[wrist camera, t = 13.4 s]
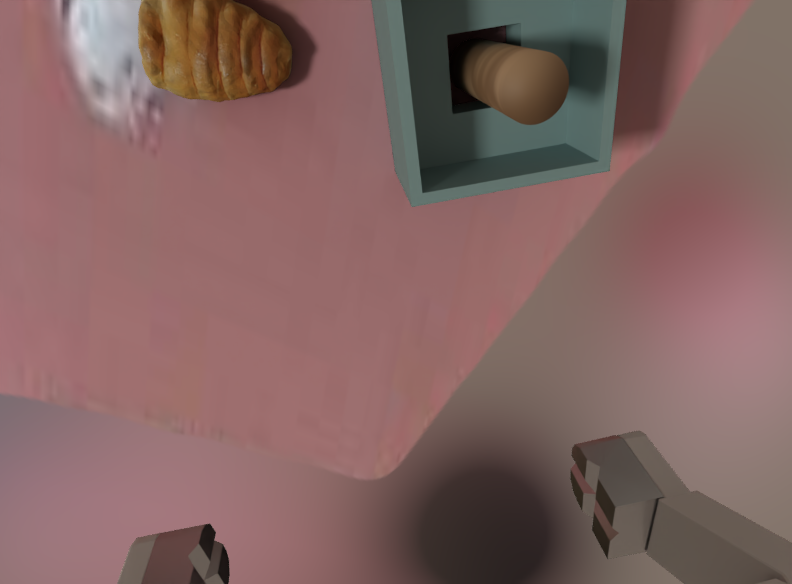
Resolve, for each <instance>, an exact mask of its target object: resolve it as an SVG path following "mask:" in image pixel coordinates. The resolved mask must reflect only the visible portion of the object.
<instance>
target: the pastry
mask: <svg viewBox="0 0 792 584" xmlns="http://www.w3.org/2000/svg"><path fill="white" fill-rule="evenodd" d="M138 15H139V25H138V33H139V38H138V44H139V49H140V52H141V55H142V64H143V67H144V70H145V73H146V75H147V76H148V77H149V79H150V81H151V83H152V84H153V85H154V86H156V87H157V88H162V89H166V90H169V91H171V92H172V93H174V94H176V95H178V96H181V97H183V98H188V99H203V100H212V101H217V102H221V101H224V100H235V99H238V98H243V97H249V96H252V95H256V94H259V93H265V92H272V91H274V90H275V89H276V88H277V87H278V86H280V84H281V83H282V82H283V81H284V80H286V79H287V78H288V77H289V75H290V72H291V67H292V47H291V45H290V43H289V41H288V40H287V38H286V37H285V35H284V33H283V32H282V30H281V28H280V27H279V26H278V25H277V24H275V23H273V22H271V21H269V20H267V19H265V18H263V17H262V16H260V15H259V14H258V13H256V12H255V11H254V10H253V9H251V8H249V7H247V6H245V5H243V4H240V3H237V2H235V1H233V0H141V6H140V9H139V14H138Z"/></svg>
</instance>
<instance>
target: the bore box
mask: <svg viewBox="0 0 792 584" xmlns="http://www.w3.org/2000/svg"><path fill="white" fill-rule="evenodd" d="M371 1H372V8H373V15H374V22H375V29H376V36H377V44H378V51H379V58H380V65H381V72H382V79H383V86H384V94H385V101H386V108H387V115H388V122H389V129H390V137H391V144H392V151H393V158H394V165H395V172H396V174H397V176H398V178H399V180H400V183H401V185H402V187H403V189H404V191H405V193H406V195H407V198H408V200H409V202H410V204H411V206H412V207H415V206H420V205H426V204H431V203H437V202H442V201H448V200H453V199H458V198H464V197H469V196H475V195H480V194H486V193H491V192H497V191H502V190H508V189H513V188H519V187H524V186H530V185H535V184H541V183H546V182H552V181H557V180H563V179H568V178H574V177H579V176H585V175H590V174H596V173H601V172H607V171H610V161H611V151H612V141H613V131H614V121H615V111H616V101H617V91H618V81H619V70H620V60H621V50H622V40H623V30H624V20H625V10H626V0H371ZM504 25H506V44H510V45H515V46H521V47H526V48H531V49H537V50H542V51H547V52H551V53H553V54H555V55H557V56H558V57H559V58H560V59H561V60H562V61H563V63H564V64H565V66H566V68H567V71H568V75H569V89H568V93H567V96H566V99H565V101H564V103H563V105H562V106H561V108H560V109H559V110H558V111H557V113H556V114H555V115H553V116H552V117H551V118H550V119H548V120H546V121H545V122H542V123H540V124H536V125H525V124H521V123H518V122H517V121H515V120H513V119H511V118H510V117H508V116H506V115H504V114H503V113H501V112H499V111H497V110H496V109H494V108H492V107H490V106H489V105H487V104H485V103H483V102H482V101H474V102H468V103H463V104H457V105H452V99H451V85H450V71H449V57H448V43H447V35H450V34H456V33H462V32H468V31H474V30H480V29H486V28H492V27H498V26H504Z"/></svg>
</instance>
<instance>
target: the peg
mask: <svg viewBox="0 0 792 584" xmlns="http://www.w3.org/2000/svg"><path fill="white" fill-rule="evenodd" d="M449 71H450V77H451V79H452V81H453V83H454V84H455V85H456V86H457V87H458V88H459V89H461V90H462V91H464V92H466V93H468V94H469V95H471V96H473V97H475V98H476V99H478V100H480V101H482V102H483V103H485V104H487V105H489V106H490V107H492V108H494V109H496V110H497V111H499V112H501V113H503V114H504V115H506V116H508V117H510V118H511V119H513V120H515V121H517V122H518V123H521V124H525V125H536V124H540V123H542V122H545V121H546V120H548V119H550V118H551V117H552V116H553V115H555V114H556V113H557V111H558V110H559V109H560V108H561V106H562V105H563V103H564V101H565V99H566V96H567V93H568V89H569V75H568V71H567V68H566V66H565V64H564V63H563V61H562V60H561V59H560V58H559V57H558V56H557V55H555V54H553V53H551V52H547V51H542V50H537V49H531V48H526V47H521V46H515V45H510V44H505V43H500V42H494V41H489V40H484V39H478V38H472V39H468V40H465V41H464V42H462V43H461V44H459V45H458V46H457V48H456V49H455V50H454V52H453V54H452V56H451V58H450V62H449Z"/></svg>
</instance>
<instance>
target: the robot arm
mask: <svg viewBox="0 0 792 584" xmlns="http://www.w3.org/2000/svg"><path fill="white" fill-rule="evenodd" d="M572 458H573V459H574V461H575V464H574V465H573V467H572V468H571V470H570V480H571V484H572V489H573V492H574V495H575V497H576V500H577V502H578V504H579V506H580V508H581V510H582V512H584V513H586V514H587V515H589V516H590V517H592V518H593V525H592V531H593V533H594V535H595V536H596V539H597V540H598V542H599V544H600V546H601V548H602V550H603V551H604V554H605V555H606V557H607V559H611V558H617V557H621V556H627V555H632V554H637V553H642V552H647V555H648V556H650V557H651V558H652V559H653V560H655V561H656V562H657V563H659V564H660V565H661V566H662V567H664V568H665V569H666V570H667V571H669V572H670V573H671V574H672V575H674V576H675V577H676V578H677V579H679V580H680V581H681V582H683V583H684V584H792V543H791V542H789V541H788V540H786V539H784V538H782V537H780V536H779V535H777V534H775V533H773V532H771V531H769V530H768V529H766V528H764V527H762V526H760V525H758V524H756V523H755V522H753V521H751V520H749V519H748V518H746V517H744V516H742V515H740V514H738V513H737V512H735V511H733V510H731V509H729V508H728V507H726V506H724V505H722V504H720V503H719V502H716V501H715V500H713V499H711V498H709V497H708V496H706V495H704V494H702V493H700V492H699V491H693V492H690V491H689V489H688V488H687V487H686V486H685V484H684V483H683V482H682V481H681V479H680V478H679V477H678V476H677V474H676V473H675V472H674V471H673V469H672V468H671V466H670V465H669V464H668V463H667V461H666V460H665V459H664V458H663V457H662V455H661V454H660V452H659V451H658V450H657V448H656V447H655V446H654V445H653V443H652V442H651V441H650V440H649V438H648V437H647V436H646V434H644V433H643V432H641V431H634V432H630V433H625V434H622V435H617V436H616V435H613V436H609V437H605V438H600V439H596V440H592V441H587V442H583V443H579V444H575V445H574V446H573V448H572ZM215 534H216V532H215V530H214V529H213V528H212V526H211V524H205V525H200V526H194V527H189V528H184V529H179V530H174V531H169V532H164V533H158V534H153V535H148V536H144V537H139V538H136V540H135V541H134V543H133V544H132V545H131V547H130V549H129V552H128V555H127V557H126V560H125V563H124V566H123V569H122V572H121V574H120V577H119V580H118V583H117V584H228V583H229V576H230V574H229V558H228V555H227V551H226V549H225V547H224V545H223V544H221V543H219V542H217V541H214V539H215Z"/></svg>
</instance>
